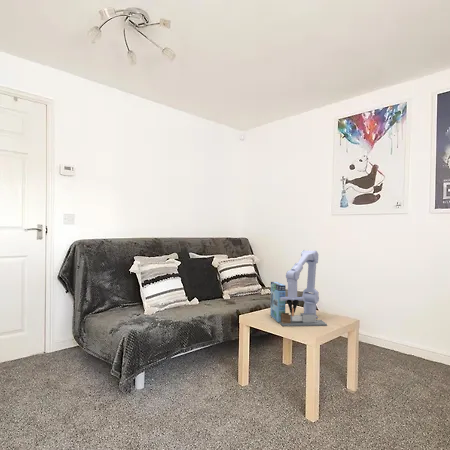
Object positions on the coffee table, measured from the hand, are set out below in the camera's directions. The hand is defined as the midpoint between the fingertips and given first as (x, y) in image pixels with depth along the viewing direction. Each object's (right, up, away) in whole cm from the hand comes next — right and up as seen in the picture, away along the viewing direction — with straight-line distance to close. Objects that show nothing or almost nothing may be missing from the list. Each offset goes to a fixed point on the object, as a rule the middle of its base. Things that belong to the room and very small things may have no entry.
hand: (292, 312), depth 202 cm
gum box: (-7, -8, +11) cm, 15 cm away
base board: (+6, -7, 0) cm, 9 cm away
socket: (-4, -7, 0) cm, 8 cm away
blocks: (+6, -5, 0) cm, 8 cm away
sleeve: (+10, -6, 0) cm, 11 cm away
